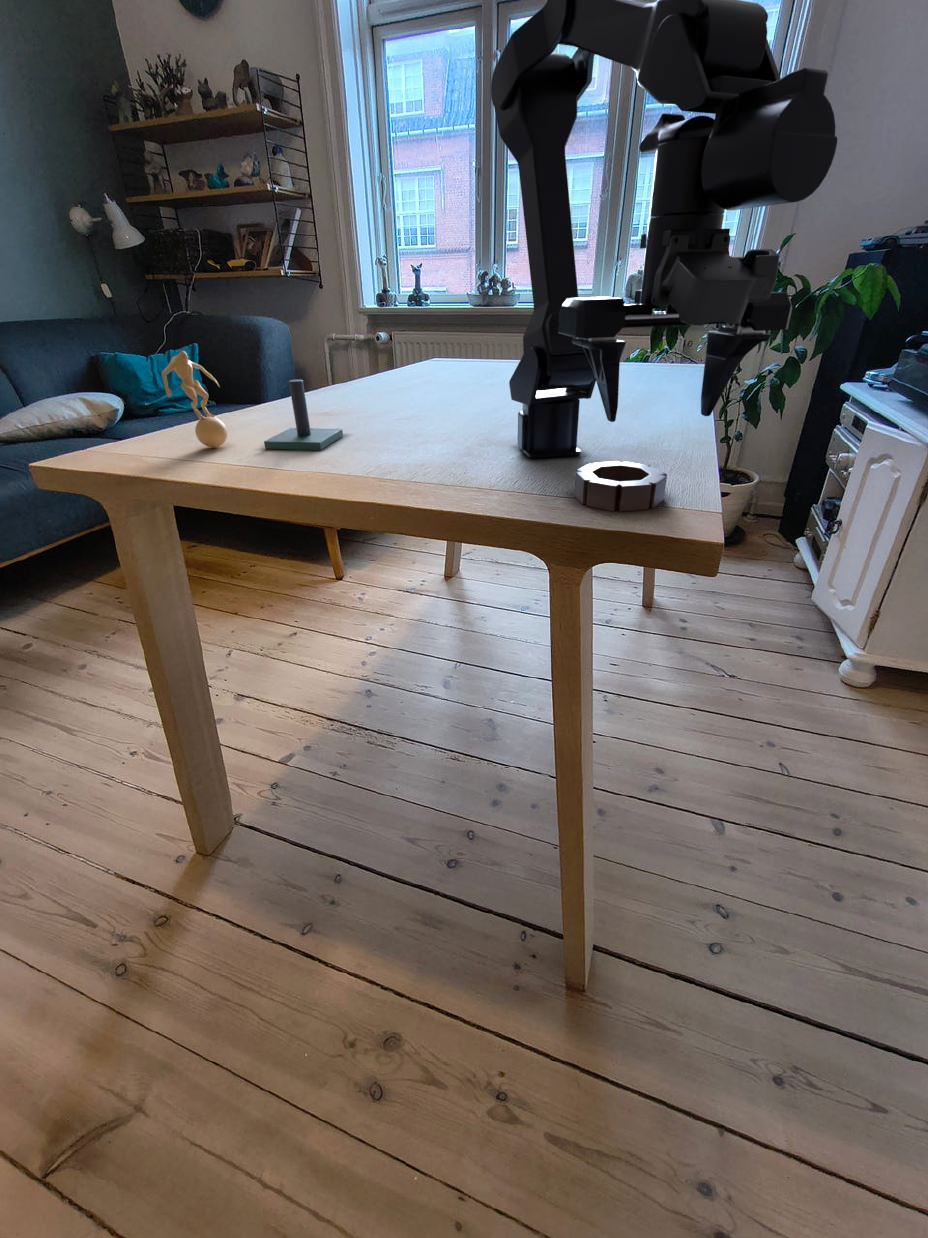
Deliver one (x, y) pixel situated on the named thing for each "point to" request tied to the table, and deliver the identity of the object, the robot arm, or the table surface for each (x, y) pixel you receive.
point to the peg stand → (302, 427)
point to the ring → (620, 486)
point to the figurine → (208, 427)
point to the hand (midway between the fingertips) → (658, 418)
